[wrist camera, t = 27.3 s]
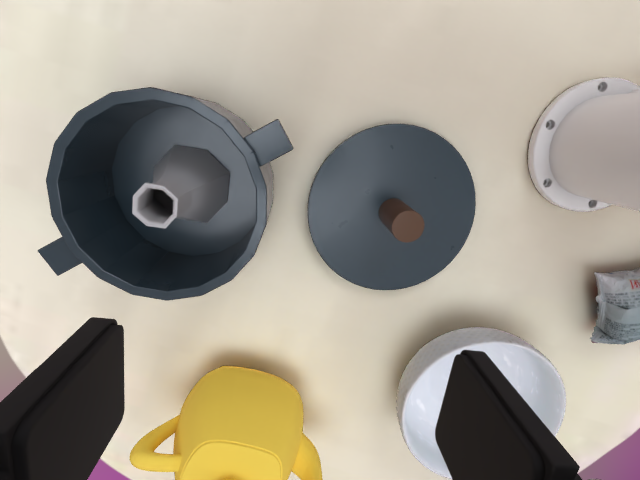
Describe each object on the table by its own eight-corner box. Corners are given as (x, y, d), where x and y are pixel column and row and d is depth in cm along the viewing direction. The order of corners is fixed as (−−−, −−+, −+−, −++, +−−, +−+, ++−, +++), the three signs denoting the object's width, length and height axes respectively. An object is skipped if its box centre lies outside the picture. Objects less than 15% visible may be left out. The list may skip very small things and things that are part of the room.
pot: (47, 162, 35) (-33, 175, 27) (245, 49, 34) (227, 24, 25) (146, 297, 40) (105, 345, 31) (325, 204, 38) (334, 227, 30)
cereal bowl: (556, 353, 45) (602, 393, 38) (466, 451, 48) (494, 504, 42) (445, 281, 41) (475, 312, 35) (357, 393, 45) (368, 440, 38)
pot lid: (277, 175, 37) (273, 185, 31) (433, 91, 36) (463, 84, 29) (352, 311, 42) (362, 344, 35) (493, 241, 40) (530, 263, 34)
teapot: (315, 466, 48) (321, 579, 36) (152, 431, 45) (100, 542, 33) (352, 377, 44) (372, 470, 32) (178, 333, 41) (130, 417, 29)
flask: (140, 200, 37) (86, 228, 27) (169, 130, 35) (122, 133, 25) (212, 234, 38) (183, 271, 28) (243, 168, 36) (224, 184, 27)
